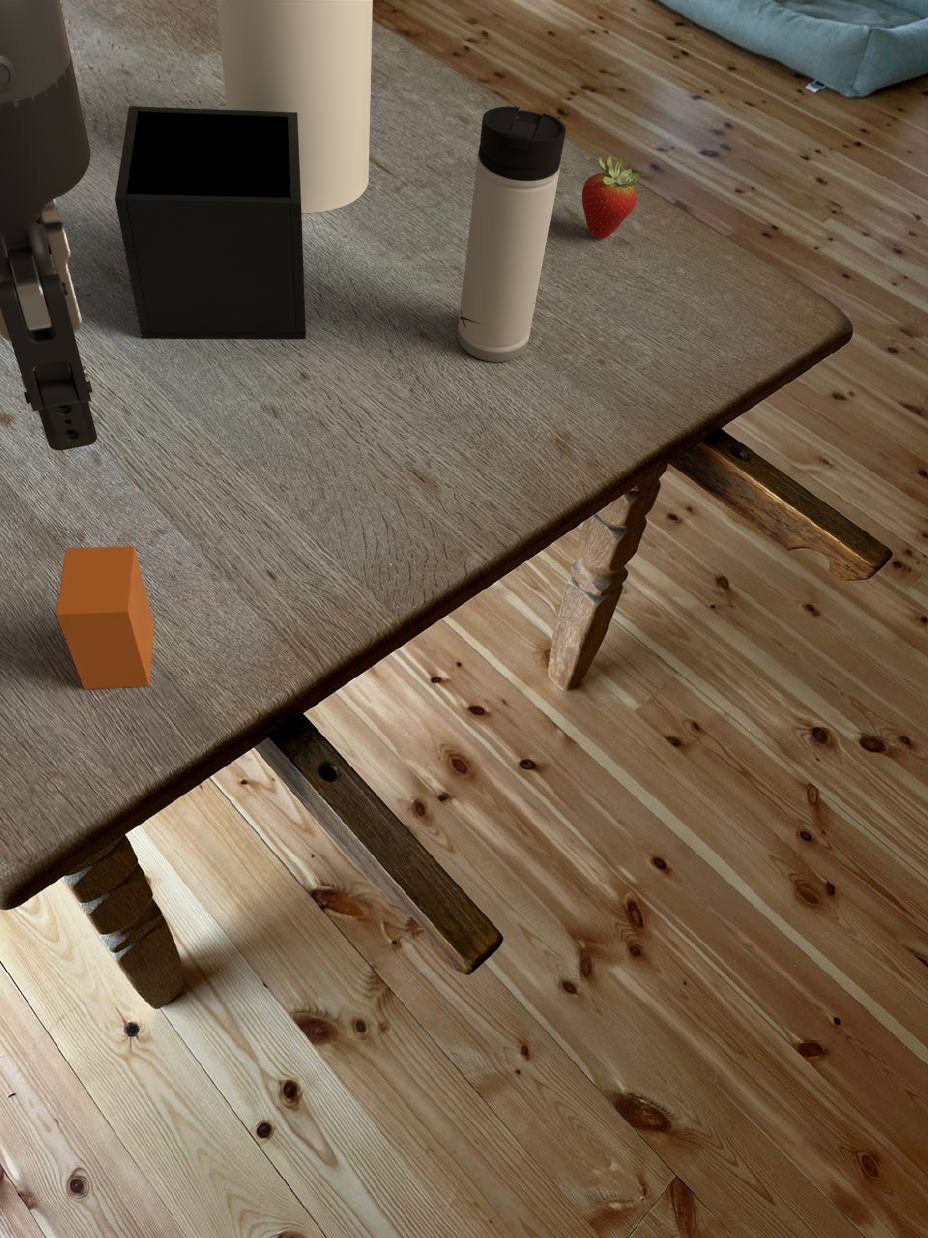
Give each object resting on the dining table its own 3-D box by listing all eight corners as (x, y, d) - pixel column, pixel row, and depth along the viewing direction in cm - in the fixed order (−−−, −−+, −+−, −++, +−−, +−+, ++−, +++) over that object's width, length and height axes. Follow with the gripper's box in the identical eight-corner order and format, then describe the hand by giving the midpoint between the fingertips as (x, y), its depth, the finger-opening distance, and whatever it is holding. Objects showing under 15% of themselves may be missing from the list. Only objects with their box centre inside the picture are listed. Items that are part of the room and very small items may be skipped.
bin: (141, 338, 84) (114, 199, 74) (151, 243, 92) (128, 105, 82) (305, 339, 86) (301, 203, 76) (302, 245, 94) (297, 111, 84)
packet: (84, 689, 64) (55, 614, 57) (91, 625, 67) (65, 547, 60) (149, 686, 64) (128, 611, 58) (154, 623, 67) (134, 545, 61)
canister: (389, 200, 100) (398, -22, 84) (258, 222, 96) (241, -7, 80) (339, 131, 107) (339, -86, 91) (215, 149, 102) (191, -76, 86)
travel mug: (448, 356, 87) (472, 128, 71) (466, 311, 91) (493, 85, 75) (518, 372, 86) (559, 147, 70) (533, 327, 90) (575, 103, 74)
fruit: (633, 251, 99) (654, 174, 93) (583, 255, 98) (600, 177, 91) (615, 221, 102) (633, 144, 95) (565, 225, 101) (581, 147, 94)
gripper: (-159, -30, 40) (-38, 311, 53) (-135, 159, 33) (-1, 502, 46) (38, -40, 42) (108, 290, 55) (103, 135, 35) (166, 468, 48)
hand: (59, 385), depth 50 cm, fingers open, 8 cm apart
